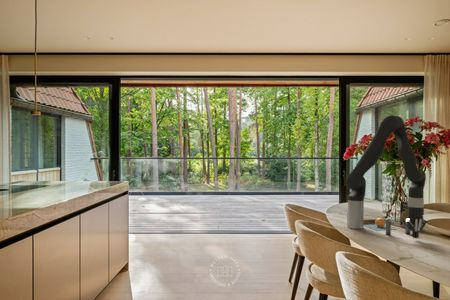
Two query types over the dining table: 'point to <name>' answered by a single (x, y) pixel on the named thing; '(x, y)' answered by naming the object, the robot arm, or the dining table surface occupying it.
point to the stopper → (369, 221)
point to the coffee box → (403, 212)
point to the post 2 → (407, 229)
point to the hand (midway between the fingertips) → (415, 237)
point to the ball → (380, 222)
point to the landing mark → (377, 227)
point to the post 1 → (388, 226)
